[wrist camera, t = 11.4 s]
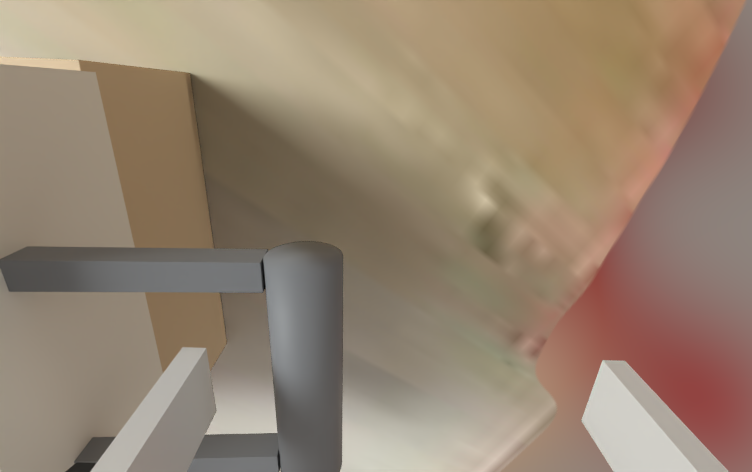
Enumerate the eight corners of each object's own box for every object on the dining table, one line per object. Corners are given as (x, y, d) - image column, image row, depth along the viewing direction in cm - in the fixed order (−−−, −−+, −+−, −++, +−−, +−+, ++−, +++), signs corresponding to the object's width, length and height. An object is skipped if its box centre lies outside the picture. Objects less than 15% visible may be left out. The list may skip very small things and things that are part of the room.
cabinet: (-79, 61, 22) (-390, 39, 13) (189, 73, 22) (65, 58, 13) (26, 337, 29) (-127, 443, 20) (226, 342, 29) (162, 450, 20)
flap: (-246, 45, 6) (340, 70, 7) (78, 71, 14) (347, 82, 14) (61, 629, 13) (339, 614, 14) (166, 437, 21) (344, 433, 21)
